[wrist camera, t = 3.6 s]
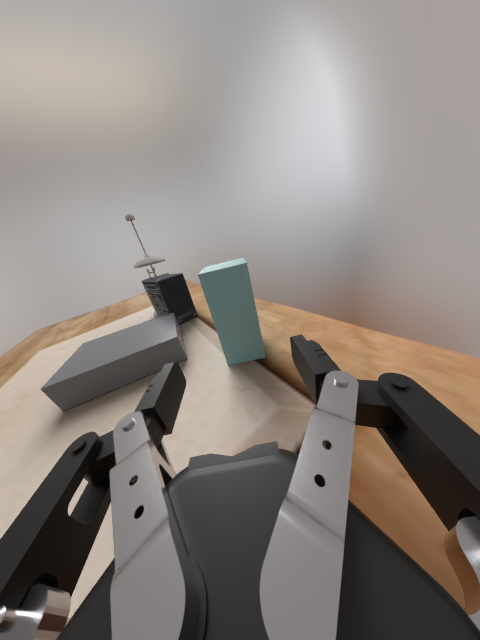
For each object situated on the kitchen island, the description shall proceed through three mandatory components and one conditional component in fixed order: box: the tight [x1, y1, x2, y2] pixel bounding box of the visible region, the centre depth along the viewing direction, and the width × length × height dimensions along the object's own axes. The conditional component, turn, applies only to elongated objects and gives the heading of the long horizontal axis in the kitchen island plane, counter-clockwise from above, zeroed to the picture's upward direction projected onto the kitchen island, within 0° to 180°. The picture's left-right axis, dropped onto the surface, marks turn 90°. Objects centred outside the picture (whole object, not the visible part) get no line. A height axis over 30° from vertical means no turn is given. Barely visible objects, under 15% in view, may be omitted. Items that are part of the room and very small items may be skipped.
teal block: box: [198, 258, 266, 366], centre depth 22 cm, size 5×5×12 cm
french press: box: [126, 214, 166, 317], centre depth 47 cm, size 10×12×25 cm
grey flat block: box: [41, 312, 187, 411], centre depth 28 cm, size 16×12×4 cm
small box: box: [142, 273, 197, 325], centre depth 41 cm, size 11×6×10 cm, turn 45°
